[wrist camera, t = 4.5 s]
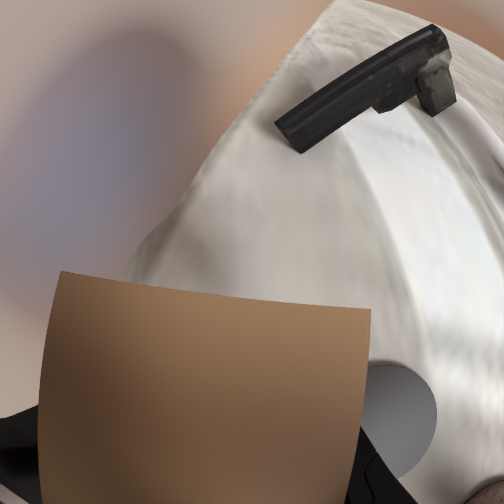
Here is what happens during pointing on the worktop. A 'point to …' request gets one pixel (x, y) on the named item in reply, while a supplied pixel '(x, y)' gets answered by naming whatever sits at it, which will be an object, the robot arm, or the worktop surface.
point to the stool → (197, 397)
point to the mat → (398, 416)
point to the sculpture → (489, 495)
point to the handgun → (376, 88)
